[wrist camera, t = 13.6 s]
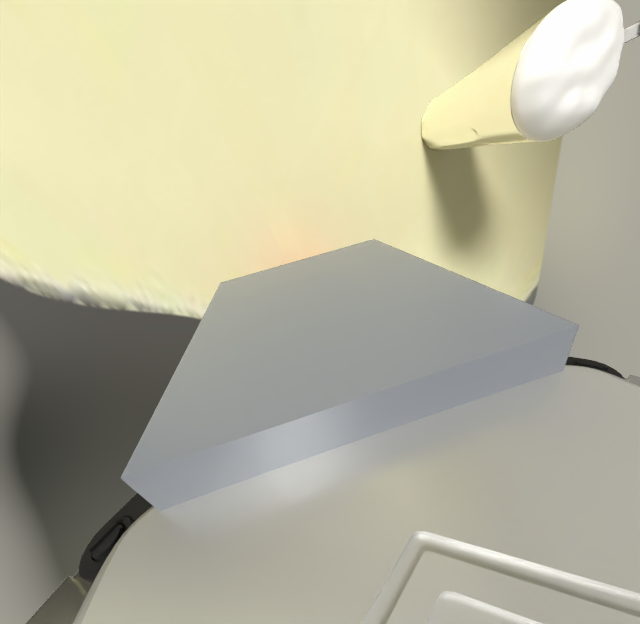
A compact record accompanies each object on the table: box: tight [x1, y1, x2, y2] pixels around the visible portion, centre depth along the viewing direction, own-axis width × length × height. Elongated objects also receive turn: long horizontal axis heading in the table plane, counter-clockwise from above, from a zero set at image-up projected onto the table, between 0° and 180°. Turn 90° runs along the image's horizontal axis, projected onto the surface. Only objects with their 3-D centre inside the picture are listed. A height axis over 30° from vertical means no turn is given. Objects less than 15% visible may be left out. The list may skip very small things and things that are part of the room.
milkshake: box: [421, 0, 640, 150], centre depth 13 cm, size 4×5×10 cm
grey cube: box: [121, 239, 579, 511], centre depth 9 cm, size 8×8×9 cm
